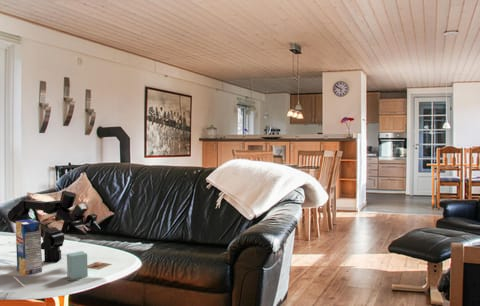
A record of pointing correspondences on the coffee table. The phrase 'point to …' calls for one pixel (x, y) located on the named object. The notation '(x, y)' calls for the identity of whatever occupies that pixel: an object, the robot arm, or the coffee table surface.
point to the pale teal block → (77, 265)
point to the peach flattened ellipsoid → (97, 264)
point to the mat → (72, 280)
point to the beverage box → (28, 246)
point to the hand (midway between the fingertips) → (93, 232)
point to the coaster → (98, 266)
